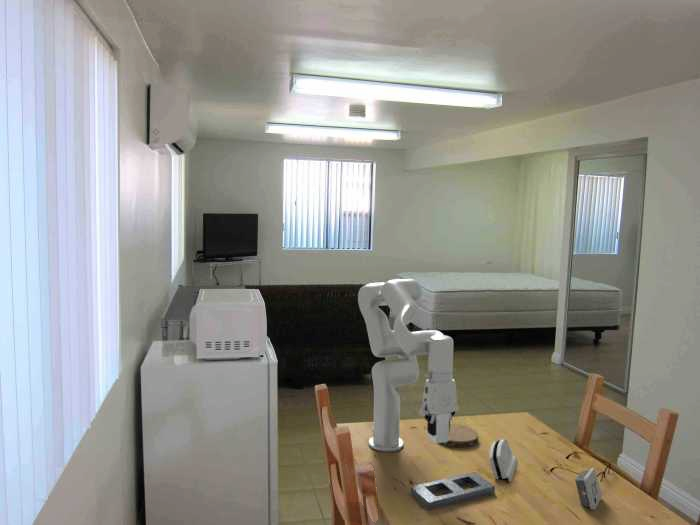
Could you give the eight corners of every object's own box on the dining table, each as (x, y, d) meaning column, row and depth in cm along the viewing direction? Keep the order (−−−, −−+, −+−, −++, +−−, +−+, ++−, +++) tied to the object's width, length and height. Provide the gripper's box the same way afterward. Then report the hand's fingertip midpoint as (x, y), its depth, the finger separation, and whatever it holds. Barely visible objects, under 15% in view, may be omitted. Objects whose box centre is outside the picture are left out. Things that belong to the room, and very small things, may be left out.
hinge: (510, 482, 180) (501, 452, 180) (496, 484, 182) (486, 454, 182) (517, 460, 195) (508, 433, 196) (504, 462, 197) (495, 435, 198)
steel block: (428, 438, 176) (429, 407, 175) (440, 436, 178) (441, 405, 177) (436, 443, 172) (436, 412, 171) (448, 441, 174) (449, 410, 173)
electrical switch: (593, 511, 164) (592, 480, 163) (575, 507, 167) (574, 476, 167) (602, 498, 171) (600, 468, 171) (584, 494, 174) (583, 465, 174)
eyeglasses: (595, 490, 177) (596, 478, 176) (546, 473, 187) (547, 462, 187) (613, 472, 189) (613, 461, 188) (566, 457, 199) (566, 446, 199)
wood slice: (446, 428, 224) (446, 420, 223) (484, 438, 214) (484, 430, 214) (427, 441, 211) (427, 433, 210) (467, 453, 201) (467, 445, 201)
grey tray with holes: (410, 494, 172) (410, 486, 171) (474, 479, 182) (474, 471, 182) (428, 510, 163) (428, 502, 162) (494, 493, 173) (494, 486, 173)
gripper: (422, 382, 166) (421, 441, 168) (470, 376, 173) (468, 433, 175) (410, 375, 173) (408, 432, 175) (456, 369, 180) (454, 424, 182)
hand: (438, 432), depth 175 cm, fingers closed on steel block, 4 cm apart
